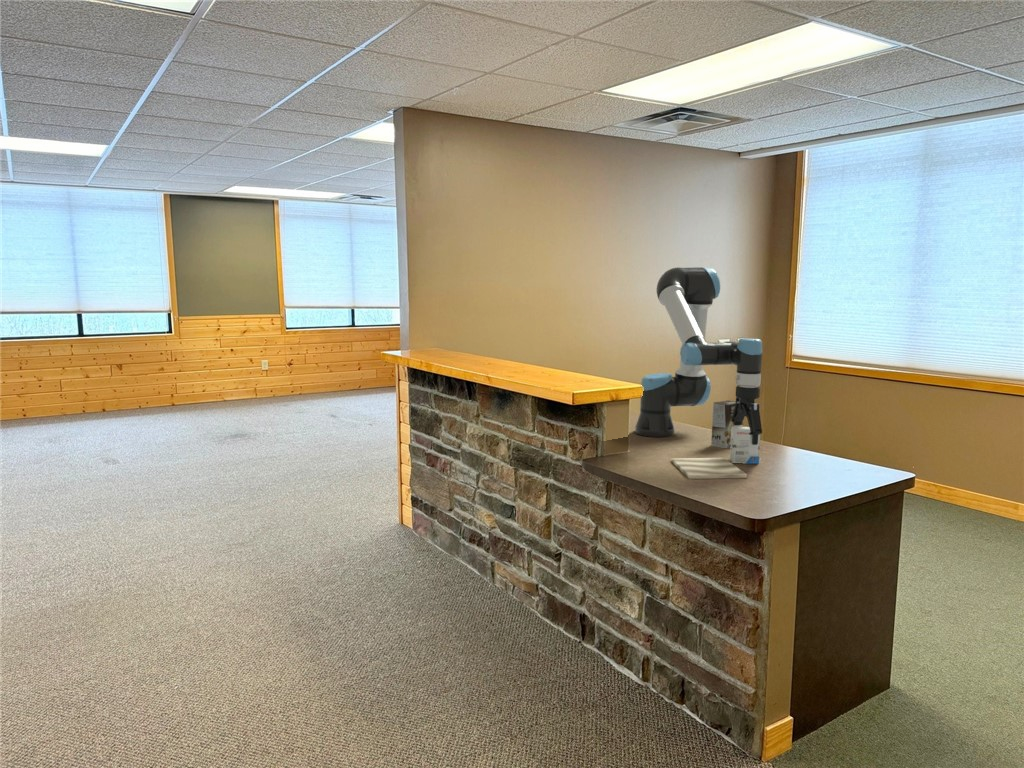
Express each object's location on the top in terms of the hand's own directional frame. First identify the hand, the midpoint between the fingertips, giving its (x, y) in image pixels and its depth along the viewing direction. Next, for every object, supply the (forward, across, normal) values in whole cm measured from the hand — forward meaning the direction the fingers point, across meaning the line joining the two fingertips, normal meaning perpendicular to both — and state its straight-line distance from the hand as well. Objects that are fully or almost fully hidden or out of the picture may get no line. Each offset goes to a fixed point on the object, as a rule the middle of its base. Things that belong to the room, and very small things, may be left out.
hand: (745, 449), depth 228 cm
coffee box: (+4, -23, +2) cm, 24 cm away
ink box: (+5, 0, 0) cm, 5 cm away
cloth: (+5, +8, -15) cm, 17 cm away
